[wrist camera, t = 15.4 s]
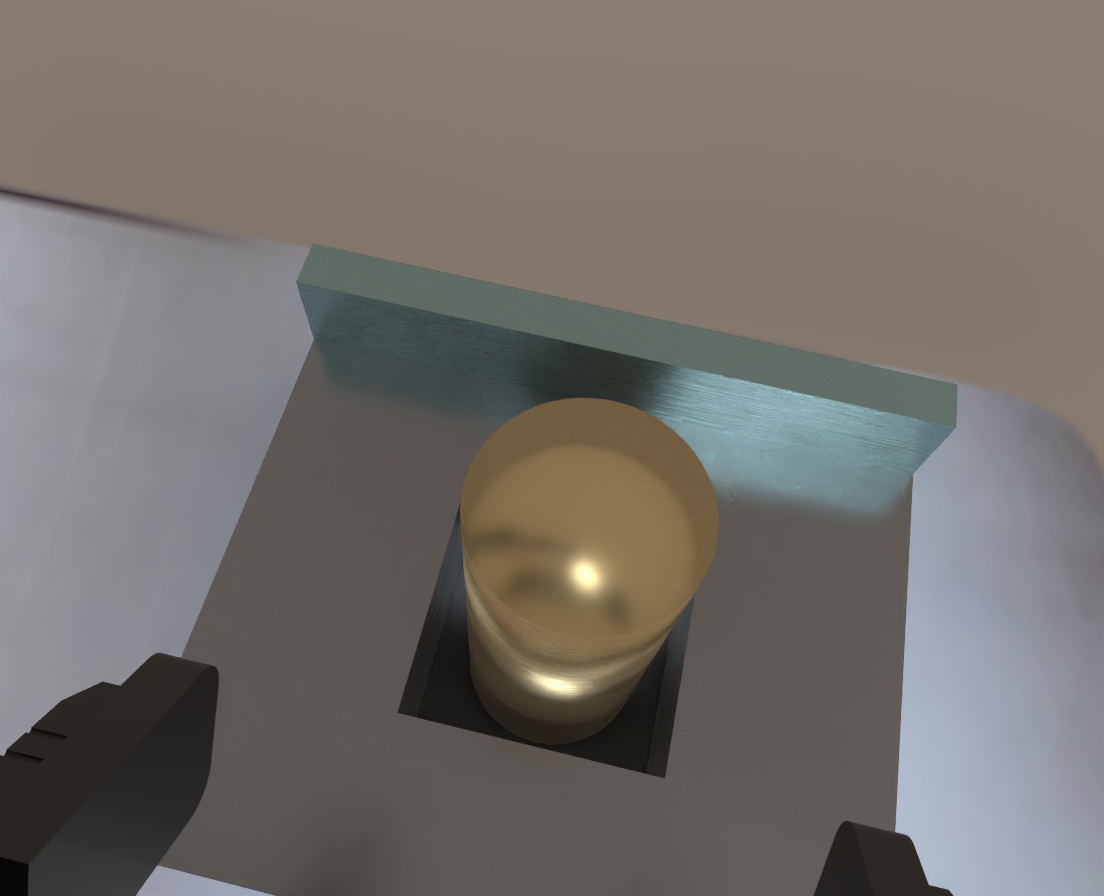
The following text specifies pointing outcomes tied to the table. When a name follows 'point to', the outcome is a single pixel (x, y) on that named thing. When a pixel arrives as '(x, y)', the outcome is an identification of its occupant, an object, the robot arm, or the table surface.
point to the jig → (431, 573)
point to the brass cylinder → (578, 560)
